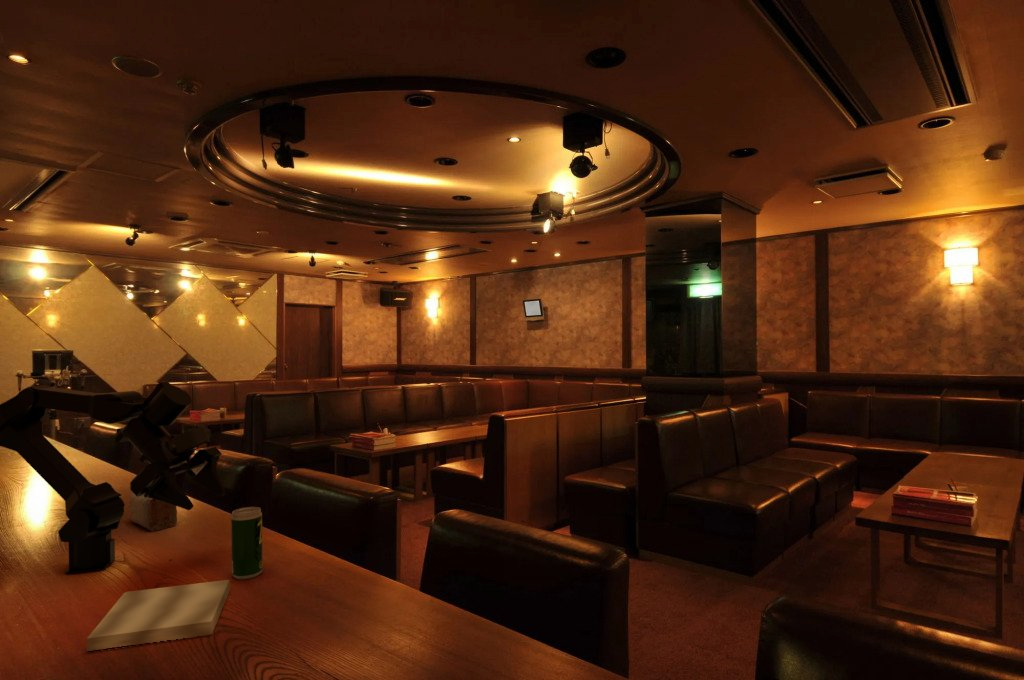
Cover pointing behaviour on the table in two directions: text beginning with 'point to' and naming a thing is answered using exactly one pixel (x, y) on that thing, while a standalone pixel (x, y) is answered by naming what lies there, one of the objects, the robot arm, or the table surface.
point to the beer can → (246, 543)
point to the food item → (152, 512)
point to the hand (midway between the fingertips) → (208, 501)
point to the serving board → (161, 615)
